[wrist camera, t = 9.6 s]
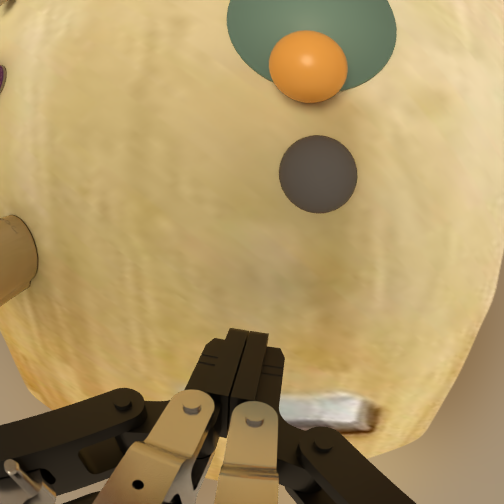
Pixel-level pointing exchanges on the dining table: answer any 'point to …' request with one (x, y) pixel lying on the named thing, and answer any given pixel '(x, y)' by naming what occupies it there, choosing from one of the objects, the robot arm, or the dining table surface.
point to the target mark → (320, 20)
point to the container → (2, 77)
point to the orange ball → (308, 66)
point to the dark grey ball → (318, 174)
